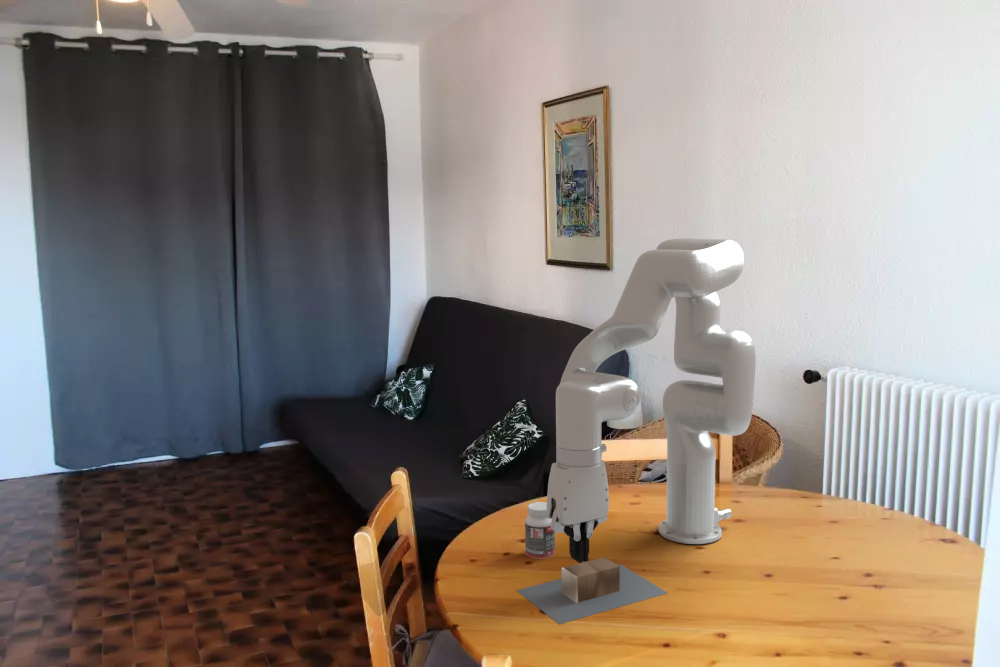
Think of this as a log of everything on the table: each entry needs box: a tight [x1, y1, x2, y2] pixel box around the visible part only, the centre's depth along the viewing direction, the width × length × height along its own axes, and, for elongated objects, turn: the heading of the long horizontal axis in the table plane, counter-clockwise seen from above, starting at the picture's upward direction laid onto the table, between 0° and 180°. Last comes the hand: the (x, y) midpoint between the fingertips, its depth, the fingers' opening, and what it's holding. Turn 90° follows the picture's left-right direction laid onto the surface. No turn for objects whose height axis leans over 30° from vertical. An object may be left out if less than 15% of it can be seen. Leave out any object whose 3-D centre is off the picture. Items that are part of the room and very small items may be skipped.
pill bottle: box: [524, 501, 556, 559], centre depth 162 cm, size 6×6×10 cm
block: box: [560, 556, 620, 603], centre depth 145 cm, size 4×4×9 cm
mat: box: [515, 563, 669, 625], centre depth 145 cm, size 22×14×1 cm, turn 118°
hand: (579, 559), depth 143 cm, fingers closed
